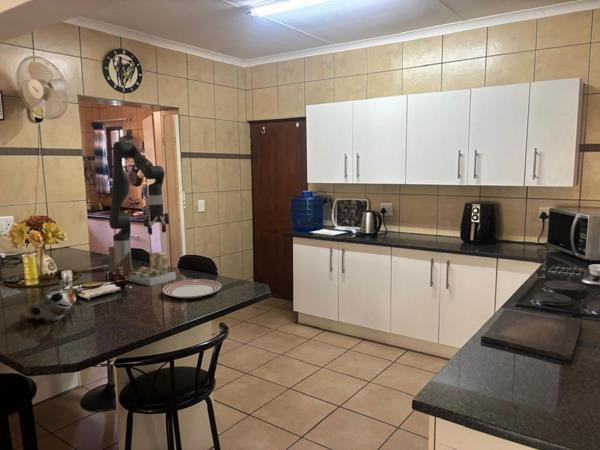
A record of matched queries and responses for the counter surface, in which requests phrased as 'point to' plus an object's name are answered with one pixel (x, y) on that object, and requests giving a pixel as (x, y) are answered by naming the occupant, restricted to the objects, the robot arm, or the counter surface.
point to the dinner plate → (192, 288)
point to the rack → (152, 278)
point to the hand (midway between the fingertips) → (157, 233)
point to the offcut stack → (147, 272)
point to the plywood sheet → (159, 262)
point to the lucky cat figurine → (52, 306)
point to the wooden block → (124, 262)
